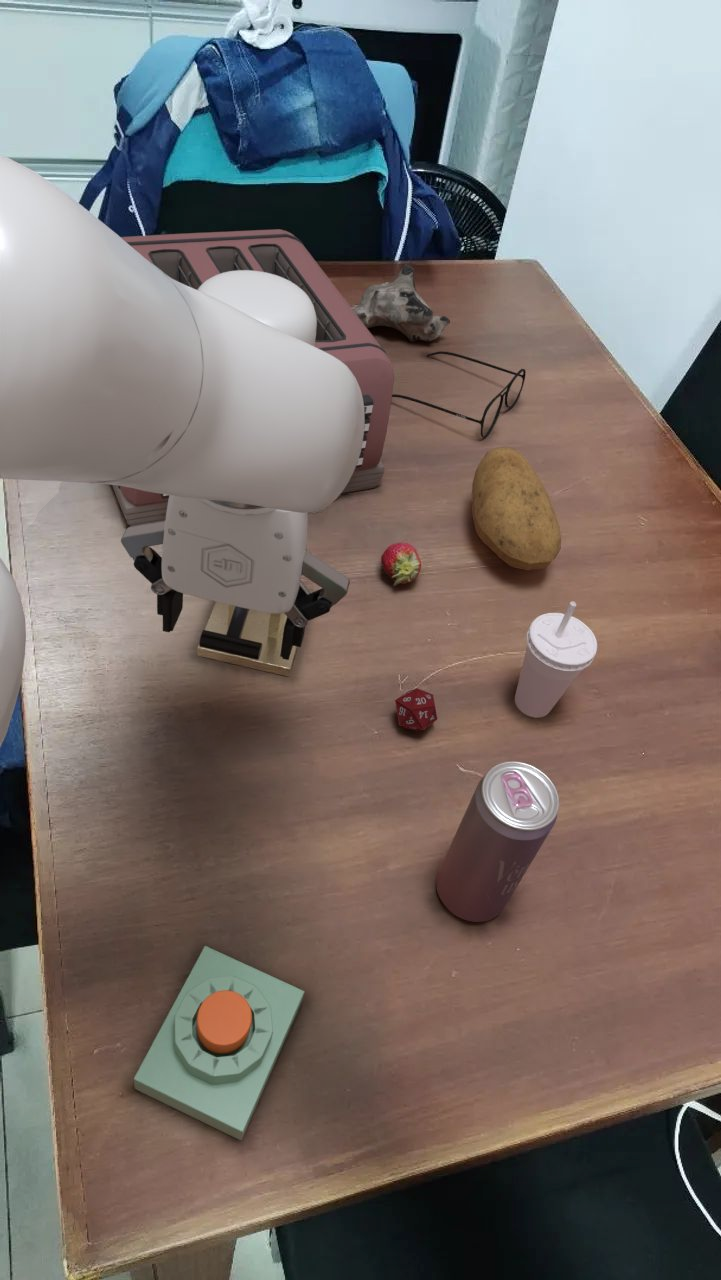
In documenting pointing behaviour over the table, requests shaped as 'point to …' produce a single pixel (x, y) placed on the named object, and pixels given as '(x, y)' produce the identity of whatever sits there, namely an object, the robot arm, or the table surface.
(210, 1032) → the button
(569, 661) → the smoothie
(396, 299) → the decorative stone
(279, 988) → the button block
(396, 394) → the glasses
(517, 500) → the potato
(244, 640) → the lever
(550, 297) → the table surface
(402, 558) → the fruit
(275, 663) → the bracket
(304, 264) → the toaster
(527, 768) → the beverage can
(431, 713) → the dice
